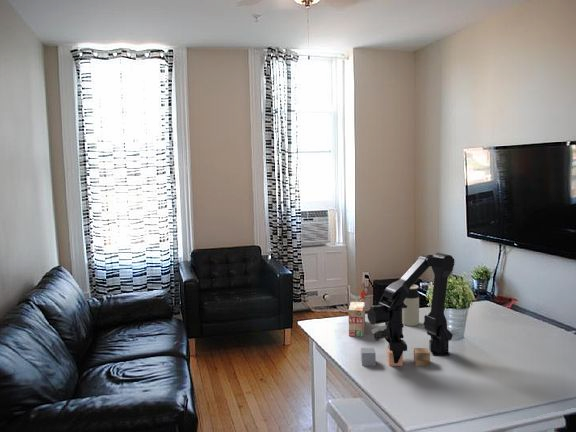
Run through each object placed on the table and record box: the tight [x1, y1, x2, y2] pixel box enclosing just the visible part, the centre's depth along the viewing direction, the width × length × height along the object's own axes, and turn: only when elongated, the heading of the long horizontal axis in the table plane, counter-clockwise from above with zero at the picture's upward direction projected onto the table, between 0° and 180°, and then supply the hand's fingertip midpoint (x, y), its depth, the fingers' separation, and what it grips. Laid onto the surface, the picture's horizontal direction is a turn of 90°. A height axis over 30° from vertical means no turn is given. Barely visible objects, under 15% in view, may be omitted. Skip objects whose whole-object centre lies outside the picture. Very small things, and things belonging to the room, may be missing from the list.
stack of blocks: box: [348, 301, 366, 338], centre depth 219 cm, size 21×6×12 cm, turn 168°
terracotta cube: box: [386, 347, 404, 367], centre depth 181 cm, size 5×5×5 cm
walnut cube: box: [413, 347, 431, 367], centre depth 180 cm, size 5×5×5 cm
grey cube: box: [360, 347, 377, 367], centre depth 181 cm, size 5×5×5 cm
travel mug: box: [402, 284, 420, 327], centre depth 223 cm, size 8×8×18 cm
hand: (394, 360), depth 181 cm, fingers closed on terracotta cube, 5 cm apart
